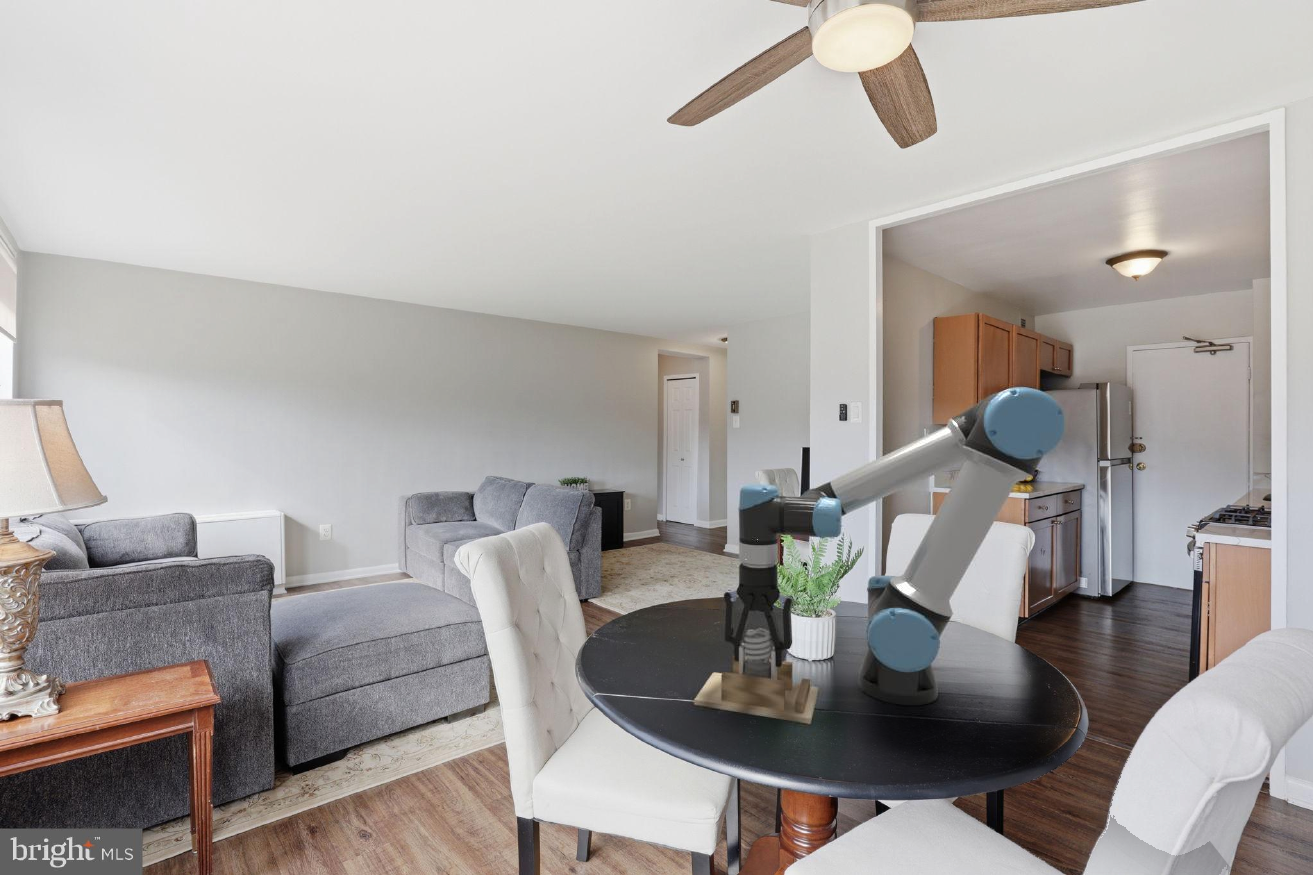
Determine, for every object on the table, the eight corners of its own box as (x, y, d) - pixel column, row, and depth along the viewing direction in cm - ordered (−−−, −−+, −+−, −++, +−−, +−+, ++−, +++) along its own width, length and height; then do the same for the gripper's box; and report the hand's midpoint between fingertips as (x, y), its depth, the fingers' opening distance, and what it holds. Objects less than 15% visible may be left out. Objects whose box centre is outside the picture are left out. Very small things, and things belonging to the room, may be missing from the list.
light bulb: (769, 682, 125) (769, 623, 125) (775, 694, 119) (775, 633, 119) (741, 683, 125) (741, 624, 124) (746, 695, 119) (746, 633, 119)
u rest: (818, 692, 125) (818, 662, 125) (810, 723, 112) (810, 691, 112) (713, 676, 133) (713, 649, 132) (694, 704, 119) (694, 674, 119)
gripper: (808, 562, 122) (808, 678, 122) (717, 556, 128) (717, 666, 129) (804, 571, 115) (803, 694, 115) (707, 563, 121) (707, 680, 122)
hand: (758, 679), depth 122 cm, fingers closed on light bulb, 6 cm apart
